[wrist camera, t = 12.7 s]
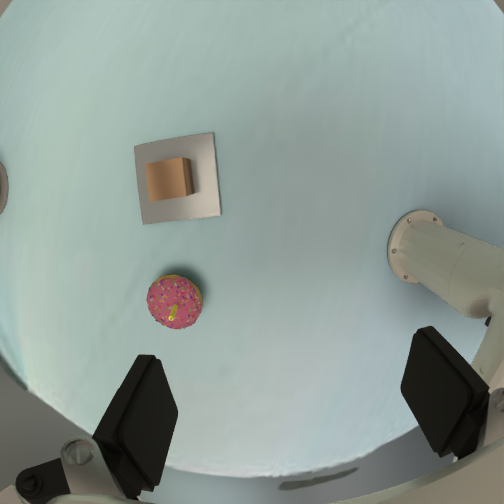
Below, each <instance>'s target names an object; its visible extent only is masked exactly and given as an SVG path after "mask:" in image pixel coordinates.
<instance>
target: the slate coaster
mask: <svg viewBox="0 0 504 504" xmlns="http://www.w3.org/2000/svg"><path fill="white" fill-rule="evenodd" d="M134 153H135V165H136V174H137V184H138V192H139V200H140V207H141V214H142V221H143V225H144V224H152V223H160V222H168V221H176V220H185V219H194V218H204V217H213V216H221V215H222V213H221V203H220V194H219V184H218V174H217V164H216V153H215V143H214V133H213V132H211V133H204V134H197V135H190V136H184V137H178V138H172V139H167V140H162V141H156V142H151V143H147V144H142V145H137V146H134ZM180 157H183V158H188V159H191V167H192V176H193V184H194V192H195V194H192V195H189V196H185V197H179V198H172V199H165V200H159V201H153V202H150V199H149V192H148V185H147V177H146V168H145V164H148V163H153V162H158V161H163V160H168V159H174V158H180Z"/></svg>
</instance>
